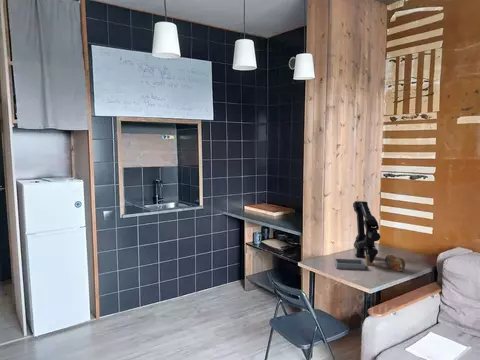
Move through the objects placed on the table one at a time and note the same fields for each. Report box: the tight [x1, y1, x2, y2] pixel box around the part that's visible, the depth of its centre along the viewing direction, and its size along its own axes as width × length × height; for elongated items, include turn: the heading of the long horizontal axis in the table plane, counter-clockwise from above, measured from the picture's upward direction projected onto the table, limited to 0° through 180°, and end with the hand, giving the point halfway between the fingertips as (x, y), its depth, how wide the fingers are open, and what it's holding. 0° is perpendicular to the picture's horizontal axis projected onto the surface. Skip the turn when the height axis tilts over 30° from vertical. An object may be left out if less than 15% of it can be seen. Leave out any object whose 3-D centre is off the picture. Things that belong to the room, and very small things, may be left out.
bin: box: [333, 258, 366, 271], centre depth 239 cm, size 11×18×4 cm, turn 83°
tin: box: [384, 254, 406, 272], centre depth 235 cm, size 15×3×8 cm, turn 21°
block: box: [364, 254, 374, 266], centre depth 245 cm, size 4×4×6 cm
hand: (369, 260), depth 245 cm, fingers open, 9 cm apart
